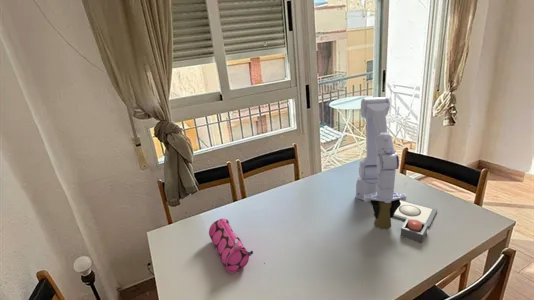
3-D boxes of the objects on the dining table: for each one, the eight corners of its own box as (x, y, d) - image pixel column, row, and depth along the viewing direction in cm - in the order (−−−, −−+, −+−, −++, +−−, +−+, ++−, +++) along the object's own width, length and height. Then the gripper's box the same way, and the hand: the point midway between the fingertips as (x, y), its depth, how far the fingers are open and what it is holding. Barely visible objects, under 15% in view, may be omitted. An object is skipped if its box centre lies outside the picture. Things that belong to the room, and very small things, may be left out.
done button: (405, 230, 109) (406, 224, 108) (409, 223, 112) (410, 218, 111) (419, 234, 106) (420, 228, 106) (422, 227, 110) (423, 222, 109)
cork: (389, 219, 119) (391, 195, 115) (393, 229, 114) (395, 203, 109) (373, 219, 120) (374, 195, 116) (375, 229, 114) (377, 203, 110)
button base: (400, 236, 110) (401, 228, 108) (406, 226, 115) (407, 218, 113) (421, 243, 106) (422, 234, 104) (426, 232, 111) (427, 224, 109)
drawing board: (382, 213, 123) (382, 211, 123) (393, 199, 132) (393, 197, 132) (428, 228, 113) (429, 225, 112) (437, 210, 122) (437, 208, 121)
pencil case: (255, 266, 102) (252, 241, 98) (228, 278, 98) (224, 253, 94) (231, 232, 120) (228, 210, 116) (207, 241, 116) (203, 219, 112)
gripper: (367, 191, 107) (366, 223, 112) (410, 189, 106) (407, 222, 111) (363, 181, 114) (361, 212, 119) (403, 180, 113) (400, 211, 118)
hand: (383, 216), depth 116 cm, fingers closed on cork, 5 cm apart
